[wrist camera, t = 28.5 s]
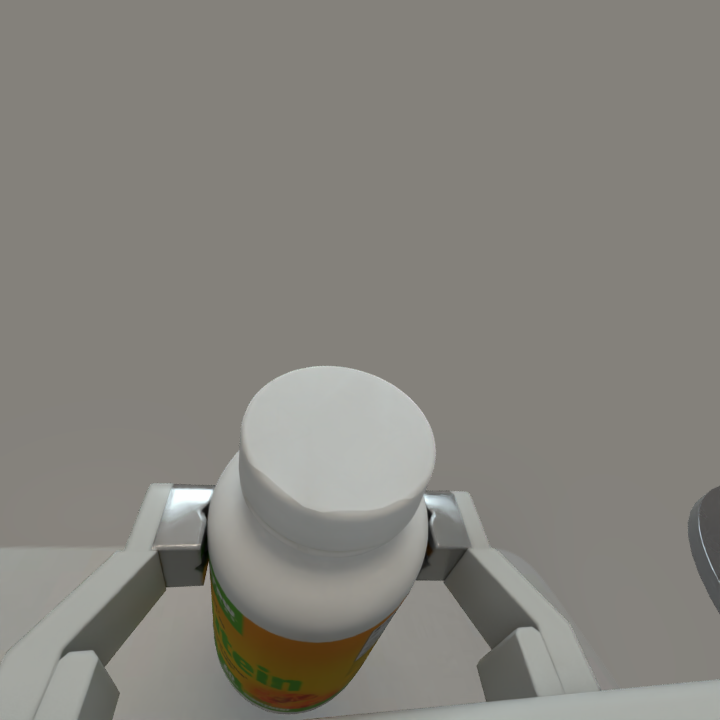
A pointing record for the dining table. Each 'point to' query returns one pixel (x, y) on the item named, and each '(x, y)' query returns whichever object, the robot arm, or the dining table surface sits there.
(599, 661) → the dining table surface
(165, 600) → the dining table surface
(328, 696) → the supplement bottle
